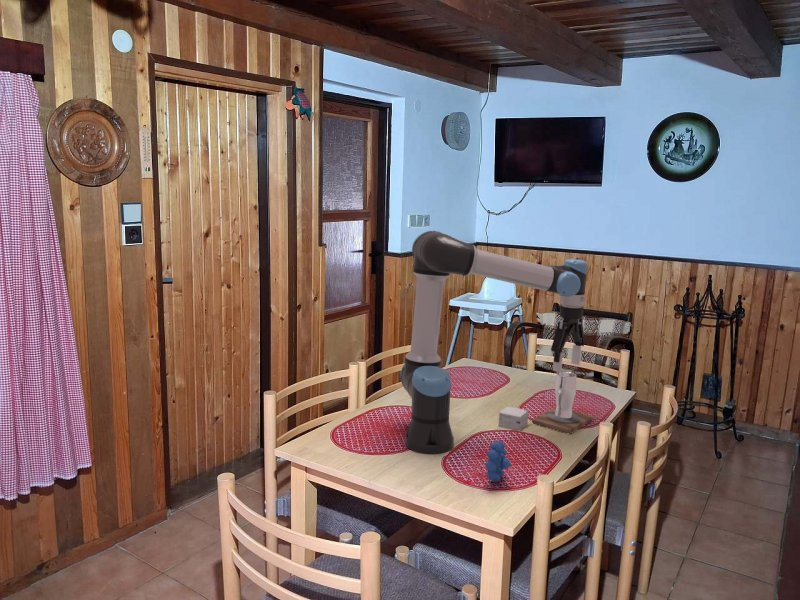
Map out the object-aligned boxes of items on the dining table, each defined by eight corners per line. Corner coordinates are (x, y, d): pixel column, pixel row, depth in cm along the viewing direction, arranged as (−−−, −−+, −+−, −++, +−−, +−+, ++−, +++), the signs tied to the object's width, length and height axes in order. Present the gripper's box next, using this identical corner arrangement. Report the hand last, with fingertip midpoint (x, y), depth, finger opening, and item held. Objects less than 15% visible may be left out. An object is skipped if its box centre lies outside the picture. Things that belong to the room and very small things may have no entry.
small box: (497, 426, 222) (498, 411, 221) (506, 419, 228) (507, 405, 228) (519, 431, 218) (520, 416, 217) (528, 424, 224) (529, 410, 224)
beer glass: (572, 413, 230) (575, 372, 227) (575, 420, 223) (578, 377, 220) (551, 412, 231) (554, 370, 228) (554, 419, 224) (557, 376, 221)
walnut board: (569, 434, 216) (570, 428, 216) (532, 423, 225) (532, 417, 225) (593, 420, 230) (593, 414, 229) (556, 410, 238) (557, 405, 238)
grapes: (503, 494, 173) (505, 451, 171) (478, 488, 176) (481, 445, 174) (516, 477, 183) (519, 436, 181) (493, 472, 186) (495, 431, 184)
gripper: (565, 312, 208) (559, 376, 212) (598, 303, 227) (592, 363, 231) (543, 308, 213) (538, 371, 217) (578, 300, 232) (572, 358, 236)
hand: (566, 367), depth 224 cm, fingers open, 13 cm apart
